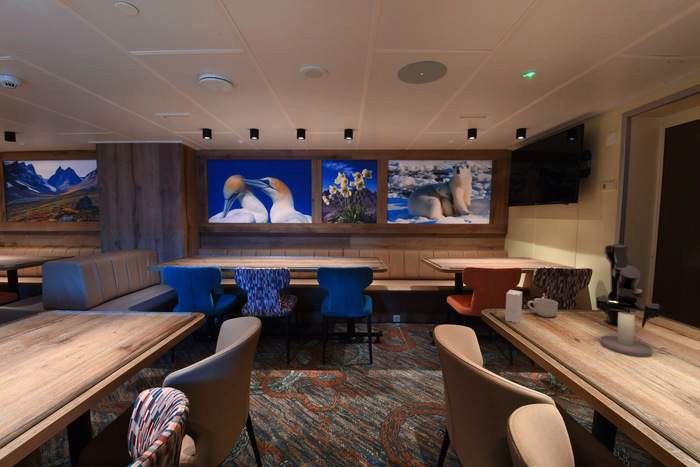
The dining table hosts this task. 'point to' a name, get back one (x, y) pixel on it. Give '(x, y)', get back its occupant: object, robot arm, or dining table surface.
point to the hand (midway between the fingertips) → (626, 324)
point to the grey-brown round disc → (626, 347)
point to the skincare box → (513, 306)
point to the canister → (626, 328)
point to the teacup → (544, 307)
